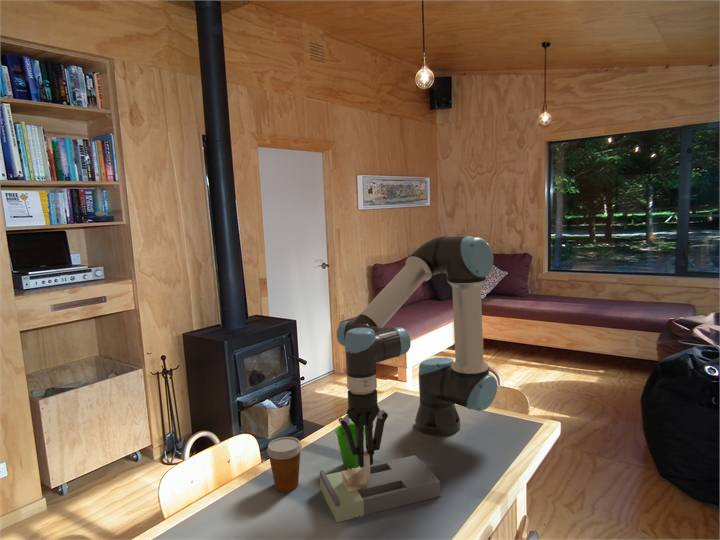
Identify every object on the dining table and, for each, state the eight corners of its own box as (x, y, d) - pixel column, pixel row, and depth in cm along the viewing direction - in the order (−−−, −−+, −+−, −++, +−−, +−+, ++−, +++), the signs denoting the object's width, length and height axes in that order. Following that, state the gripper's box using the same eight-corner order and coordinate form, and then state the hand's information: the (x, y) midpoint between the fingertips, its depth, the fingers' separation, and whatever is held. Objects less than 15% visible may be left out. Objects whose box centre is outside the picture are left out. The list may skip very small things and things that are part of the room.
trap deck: (415, 468, 142) (414, 450, 142) (440, 495, 128) (440, 475, 128) (320, 490, 133) (319, 470, 133) (336, 522, 119) (335, 501, 119)
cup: (364, 474, 140) (362, 437, 139) (333, 472, 142) (331, 435, 141) (370, 458, 149) (368, 423, 148) (341, 456, 151) (339, 422, 150)
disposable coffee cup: (289, 499, 130) (286, 455, 128) (261, 489, 135) (258, 447, 133) (311, 481, 138) (308, 440, 136) (284, 473, 143) (282, 433, 141)
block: (360, 477, 131) (360, 467, 131) (367, 487, 126) (366, 476, 126) (342, 481, 130) (341, 471, 129) (348, 491, 125) (347, 480, 124)
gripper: (342, 398, 120) (346, 490, 123) (391, 390, 125) (394, 478, 128) (333, 388, 128) (337, 475, 130) (380, 381, 132) (383, 465, 135)
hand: (366, 477), depth 129 cm, fingers closed
